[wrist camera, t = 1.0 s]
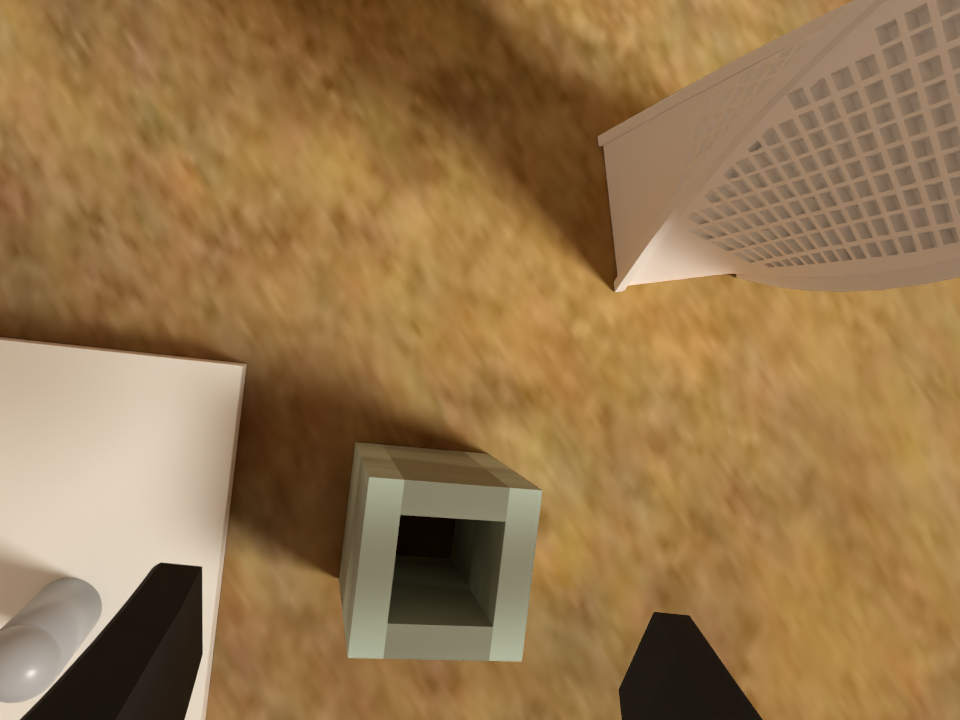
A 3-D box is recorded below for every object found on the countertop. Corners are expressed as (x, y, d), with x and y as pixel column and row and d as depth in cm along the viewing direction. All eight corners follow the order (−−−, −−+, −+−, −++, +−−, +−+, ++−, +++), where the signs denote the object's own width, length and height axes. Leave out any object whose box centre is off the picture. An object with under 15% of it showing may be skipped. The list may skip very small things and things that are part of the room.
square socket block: (473, 585, 25) (521, 661, 19) (339, 579, 24) (347, 657, 18) (488, 453, 25) (542, 490, 19) (355, 442, 24) (369, 477, 18)
